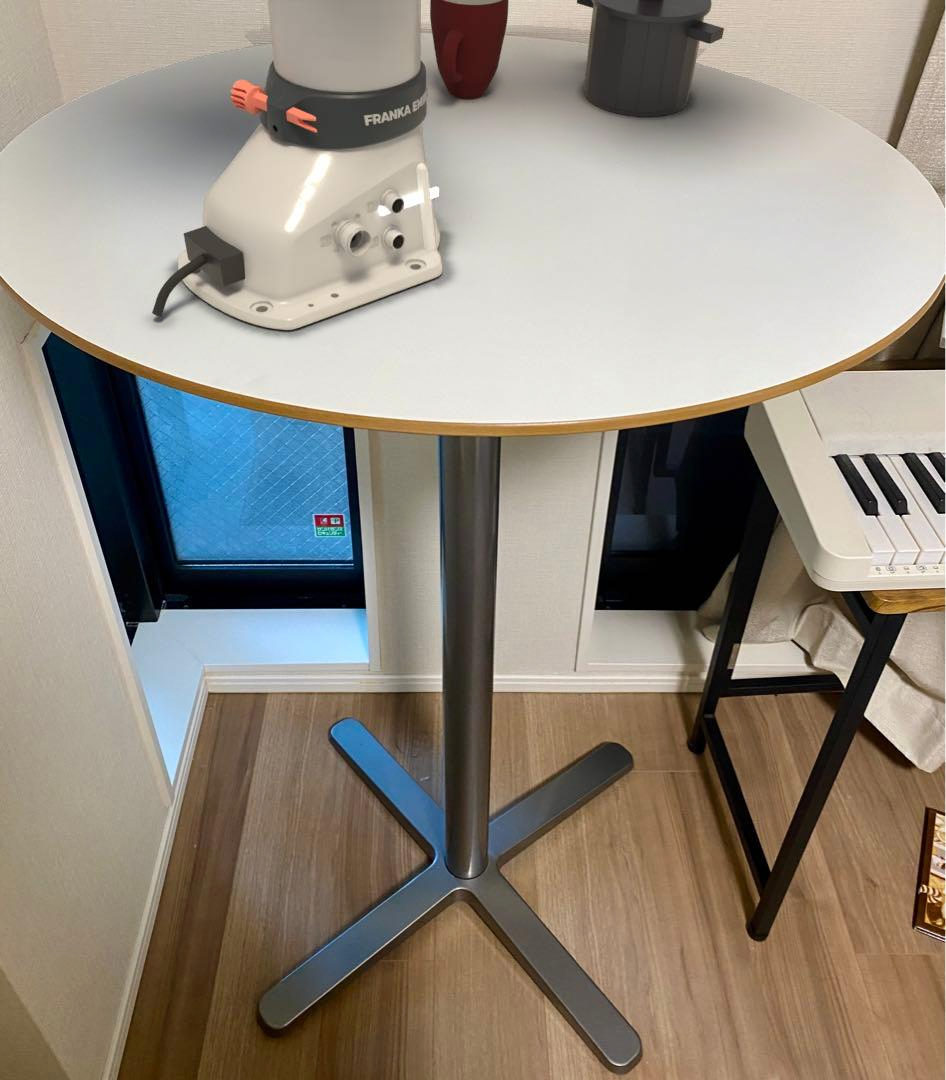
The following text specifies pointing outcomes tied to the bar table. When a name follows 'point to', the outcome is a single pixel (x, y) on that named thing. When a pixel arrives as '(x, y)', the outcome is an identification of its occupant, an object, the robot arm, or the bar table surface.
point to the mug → (468, 43)
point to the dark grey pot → (642, 63)
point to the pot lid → (656, 9)
